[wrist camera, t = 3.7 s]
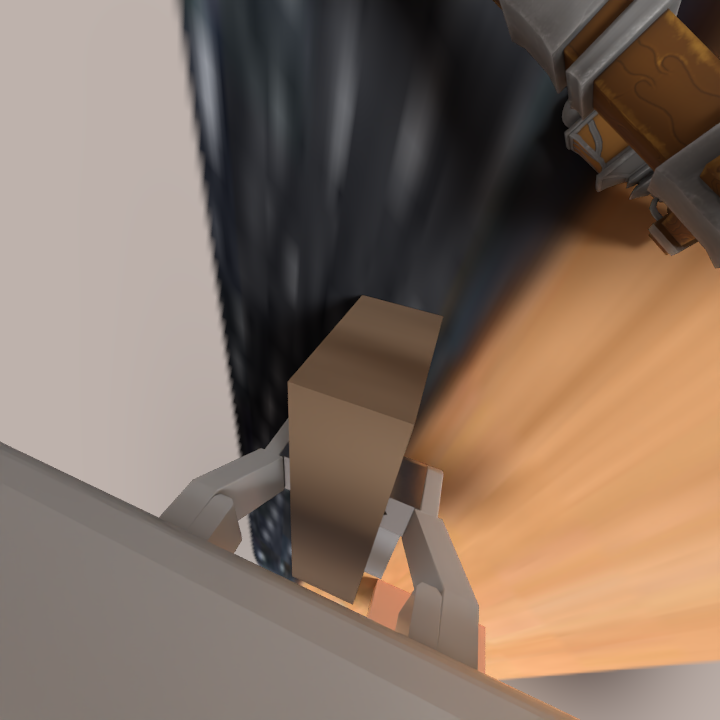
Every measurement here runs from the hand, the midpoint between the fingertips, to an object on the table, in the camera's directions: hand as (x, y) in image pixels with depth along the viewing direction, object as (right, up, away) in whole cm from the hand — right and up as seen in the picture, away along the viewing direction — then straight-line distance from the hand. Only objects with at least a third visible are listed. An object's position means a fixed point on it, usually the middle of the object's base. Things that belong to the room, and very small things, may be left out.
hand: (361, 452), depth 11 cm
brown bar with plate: (0, -2, +3) cm, 4 cm away
